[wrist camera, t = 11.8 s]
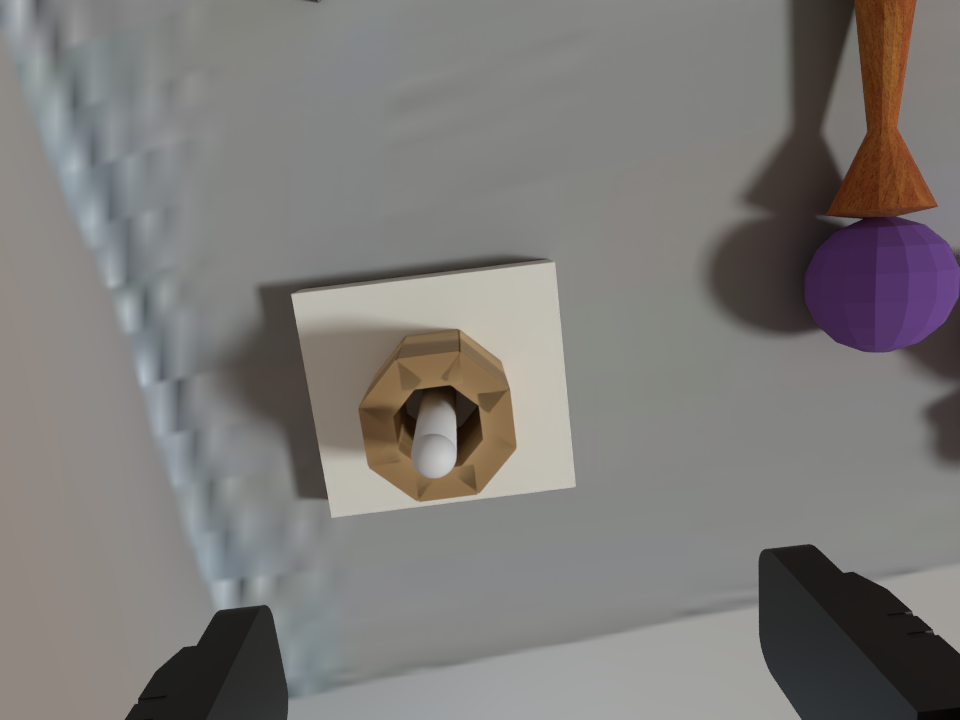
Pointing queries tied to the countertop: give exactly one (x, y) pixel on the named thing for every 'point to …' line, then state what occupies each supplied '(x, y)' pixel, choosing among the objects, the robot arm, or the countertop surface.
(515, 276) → the ring peg stand
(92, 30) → the countertop surface
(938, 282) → the kendama
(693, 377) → the countertop surface
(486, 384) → the bead
